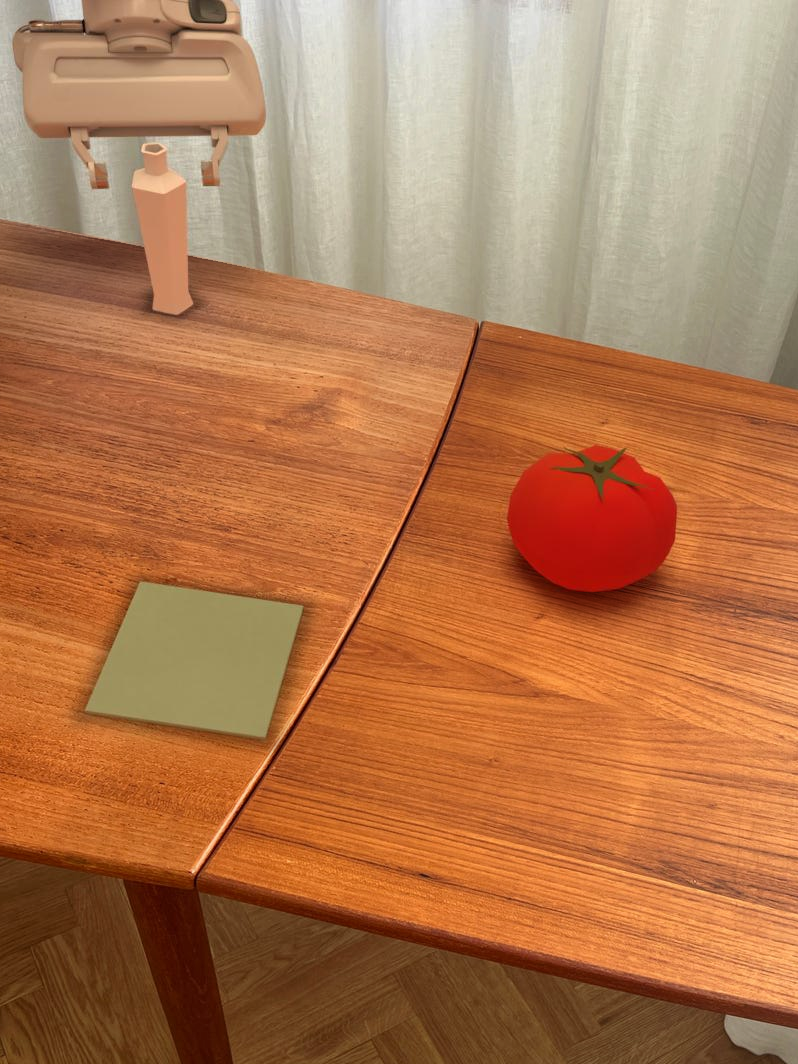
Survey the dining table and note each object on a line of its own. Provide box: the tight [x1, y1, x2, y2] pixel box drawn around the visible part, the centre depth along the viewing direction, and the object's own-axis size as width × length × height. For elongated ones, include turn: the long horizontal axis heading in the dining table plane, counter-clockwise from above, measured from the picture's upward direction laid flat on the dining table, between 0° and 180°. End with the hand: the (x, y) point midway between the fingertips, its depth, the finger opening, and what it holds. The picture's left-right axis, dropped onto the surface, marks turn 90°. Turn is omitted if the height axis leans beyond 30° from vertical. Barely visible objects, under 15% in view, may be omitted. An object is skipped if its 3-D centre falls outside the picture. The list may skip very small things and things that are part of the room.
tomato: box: [506, 444, 678, 593], centre depth 86 cm, size 11×13×10 cm
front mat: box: [84, 581, 305, 741], centre depth 80 cm, size 12×12×1 cm
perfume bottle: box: [131, 142, 194, 316], centre depth 101 cm, size 5×4×15 cm
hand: (156, 185), depth 100 cm, fingers open, 8 cm apart
